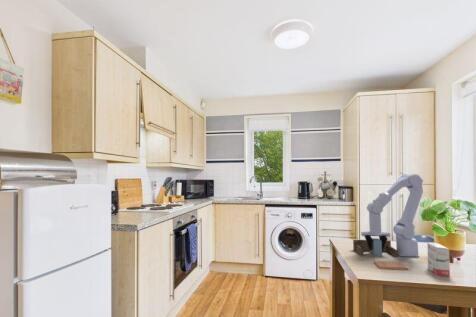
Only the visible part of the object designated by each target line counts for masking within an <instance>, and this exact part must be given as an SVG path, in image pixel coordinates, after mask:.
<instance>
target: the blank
mask: <svg viewBox="0 0 476 317" xmlns="http://www.w3.org/2000/svg"><path fill="white" fill-rule="evenodd" d="M371 238H372V250H370V251H369V252H370V253H371V254H372V255H373V256H375V255H381V257H382V256H383V251H382V241H381V240H380V239H379V237H377V238H375V237H371Z"/></svg>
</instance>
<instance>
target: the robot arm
mask: <svg viewBox="0 0 476 317" xmlns="http://www.w3.org/2000/svg"><path fill="white" fill-rule="evenodd" d="M423 182H424V180H423V178H422V177H421V176H420V175H419V174H417V173H414V174H413V173H412V174H411V173H409V174H407V173H403V174H402V175H401V176H400V177H398V178H397V179H396V181H395V182H394V183H393V184H392V186H391V187H389V189H388V190H387V191H386V192H381V193H379V194H378V196H377V197H376V198H375V199H373V200H372V202H369V203H368V204H367V207H366V210H367V211H368V214H369V215H368V221H369V222H368V224H369V227H368V228H369V231H361V232H360V236H362V237H364V240H366V241H367V243H368V246H369V249H370V250H372V238H373V237H378V239H380V240H381V241H382V250H383V248H384V245H385V242H386V241H387V240H388V238H391V232H387V231H386V232H385V231H382V212H383V211H384V208H385V207H386V206H387V205H388V204H389V203H390V202H391V201H392V197H393V196H394V195H396V194H397V193H398V192H400V191H401V189H403V188H407V190H408V192H409V195H408V197H407V200H406V204H405V206H404V210H403V212H402V216H401V218H400V219H398V220H397V222H396V224H395V225H393V229H392V230H393V232H394V234H395V242H396V250H397V256H399V257H417V258H418V257H420V255H419V244H418V243H419V242H418V240H417V239H416V238H414V236H415V228H416V226H415V225H414V223H413V222H414V219H415V217H416V213H417V211H418V208H419V205H420V202H421V199H422V197H423V196H422V195H423V192H424V190H423Z"/></svg>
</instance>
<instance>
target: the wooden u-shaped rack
mask: <svg viewBox="0 0 476 317" xmlns="http://www.w3.org/2000/svg"><path fill="white" fill-rule="evenodd" d="M352 244H353V246H352V247H353V248H352V250H353V251H356V253H358V254H359V255H360V256H362V257H363V256H364V252H371V251H370V249H369V246H368V243H367V241H366V239H352ZM383 252H385V253H386V252H387V253H389V254H390V255H392V256H393V257H394V258H398V254H397V248H394V247H393V246H392V242H391V240H388V239H387V241H386V242H385V245H384V248H383V250H382V253H383Z"/></svg>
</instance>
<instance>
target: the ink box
mask: <svg viewBox="0 0 476 317" xmlns="http://www.w3.org/2000/svg"><path fill="white" fill-rule="evenodd" d="M426 247H427V269H428V270H429V271H431V272H432V273H434V274H435V275H437V276H444V277H445V276H446V277H450V274H451V272H450V248H448V247H446V246H444V245H442V244H440V243H436V242H428V243H427V246H426Z"/></svg>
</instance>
